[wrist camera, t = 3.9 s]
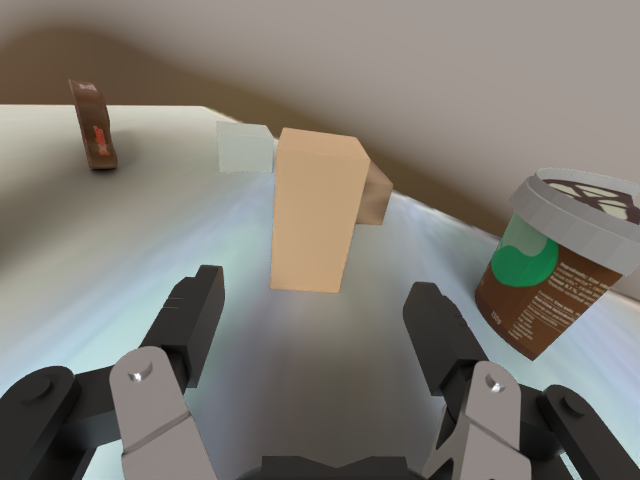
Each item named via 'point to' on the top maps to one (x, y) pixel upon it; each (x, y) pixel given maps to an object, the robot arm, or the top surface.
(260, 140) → the grey block
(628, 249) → the food container
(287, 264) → the ochre pillar
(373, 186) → the walnut block
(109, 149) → the tin
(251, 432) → the top surface
